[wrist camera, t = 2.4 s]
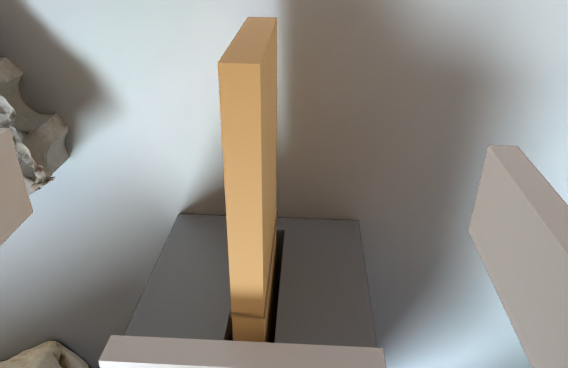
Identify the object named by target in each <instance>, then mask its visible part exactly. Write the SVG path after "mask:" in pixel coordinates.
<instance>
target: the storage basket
mask: <svg viewBox="0 0 568 368" xmlns="http://www.w3.org/2000/svg"><path fill="white" fill-rule="evenodd" d="M0 368H89V367H88V364H87V363H86V362H85V361H84V360H83V359H81V358H80V357H79V356H78V355H76V354H75V353H73V352H72V351H70V350H68V349H67V348H65V347H64V346H63V345H61V344H60V343H58V342H56V341H47V342H43V343H42V344H40V345H38V346H36V347H33V348H31V349H29V350H25V351H22V352H20V353H19V354H18V355H16V356H13V357H12V358H10V359H8V360H6V361H1V362H0Z"/></svg>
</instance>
